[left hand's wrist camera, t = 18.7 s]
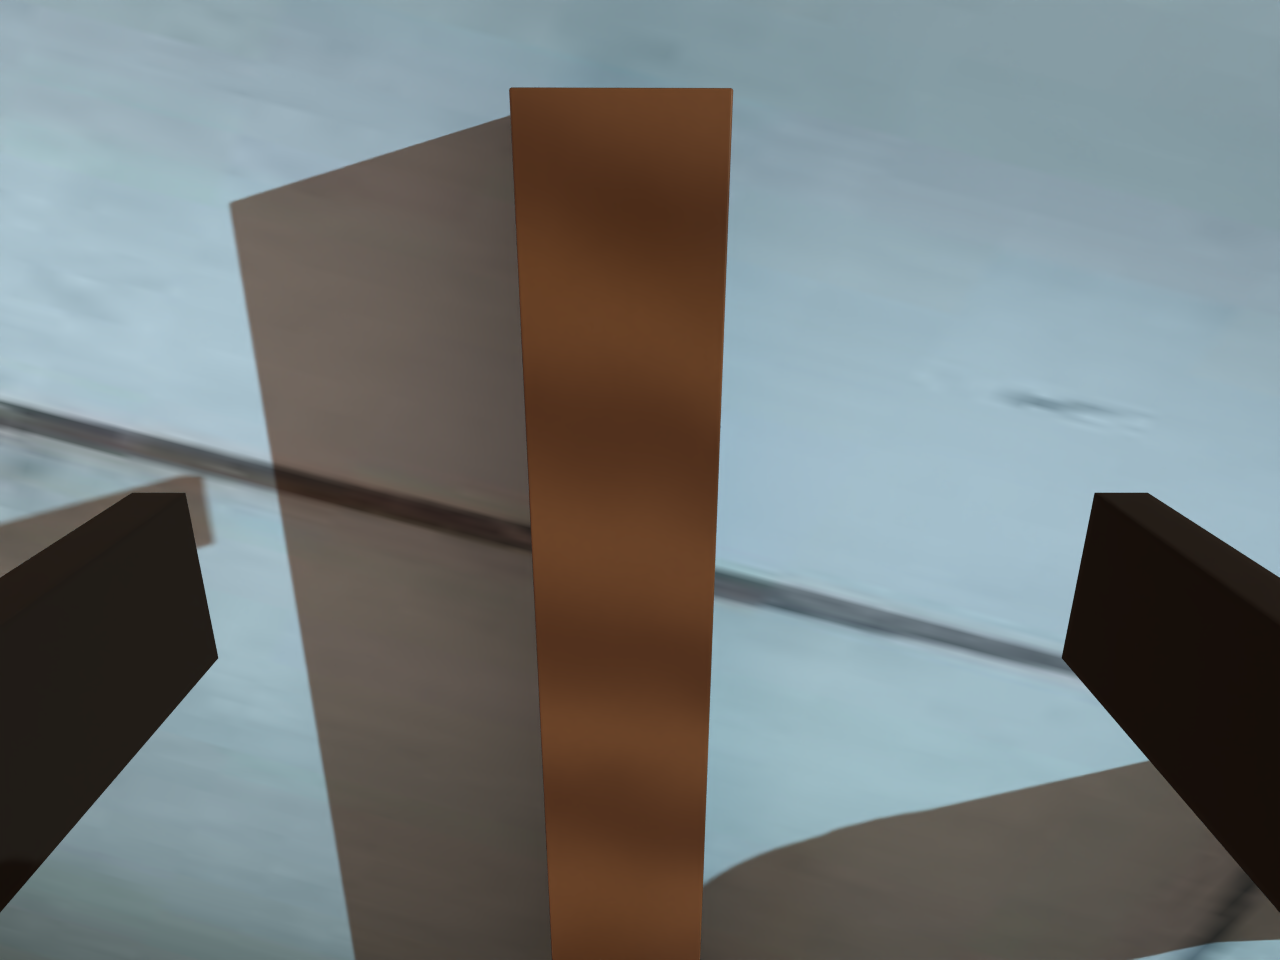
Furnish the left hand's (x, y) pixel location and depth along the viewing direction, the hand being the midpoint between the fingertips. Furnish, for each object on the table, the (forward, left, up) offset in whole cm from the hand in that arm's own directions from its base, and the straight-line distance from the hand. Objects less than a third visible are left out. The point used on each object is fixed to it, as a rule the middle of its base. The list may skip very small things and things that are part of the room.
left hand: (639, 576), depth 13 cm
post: (+27, +19, -18) cm, 38 cm away
